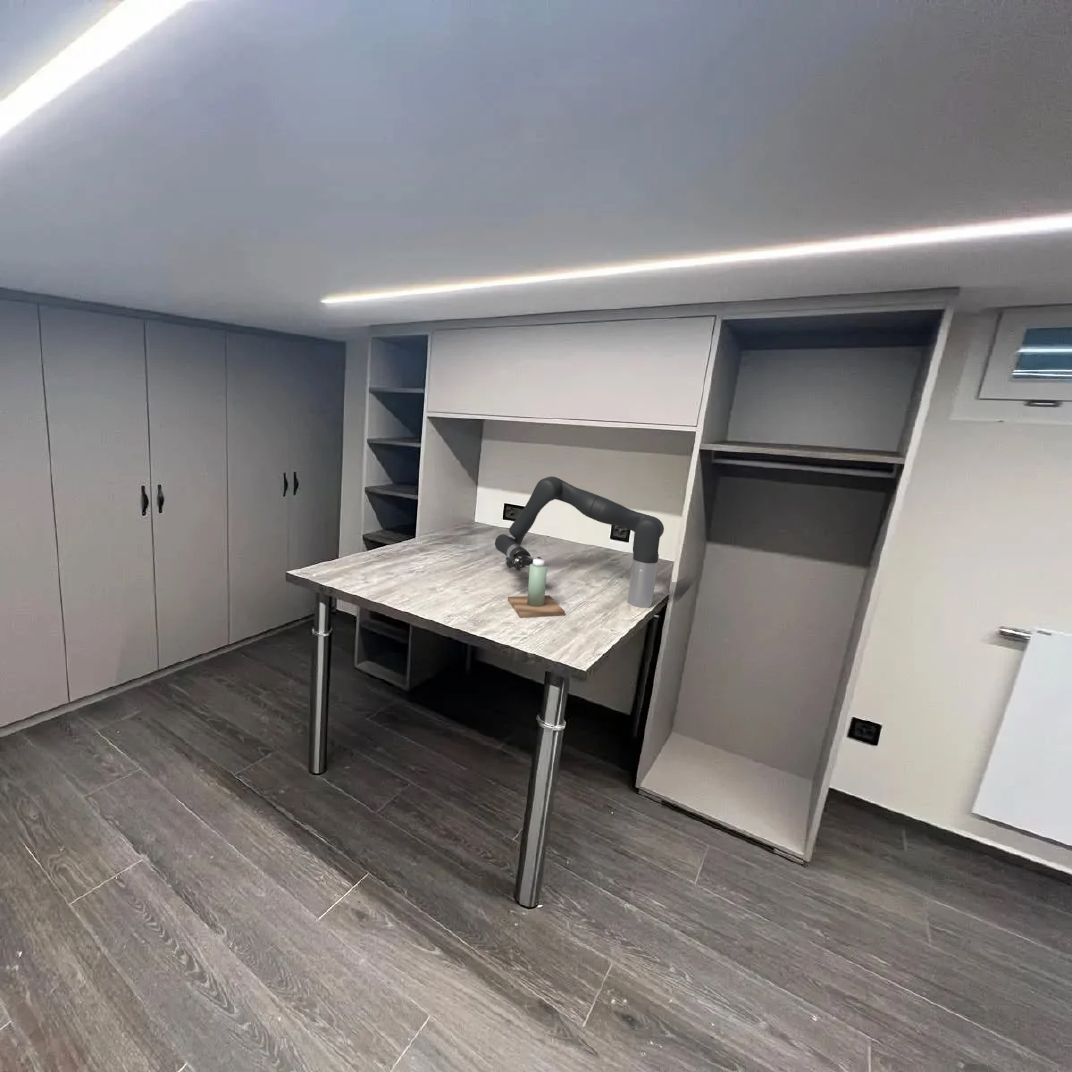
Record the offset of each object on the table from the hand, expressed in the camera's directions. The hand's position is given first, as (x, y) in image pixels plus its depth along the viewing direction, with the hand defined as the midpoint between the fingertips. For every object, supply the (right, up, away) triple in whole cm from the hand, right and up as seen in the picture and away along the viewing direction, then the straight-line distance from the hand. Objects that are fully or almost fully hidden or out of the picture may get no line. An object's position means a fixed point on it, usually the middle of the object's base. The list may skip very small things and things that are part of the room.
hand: (530, 568), depth 181 cm
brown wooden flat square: (+2, -14, -4) cm, 14 cm away
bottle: (+2, -12, -5) cm, 13 cm away
